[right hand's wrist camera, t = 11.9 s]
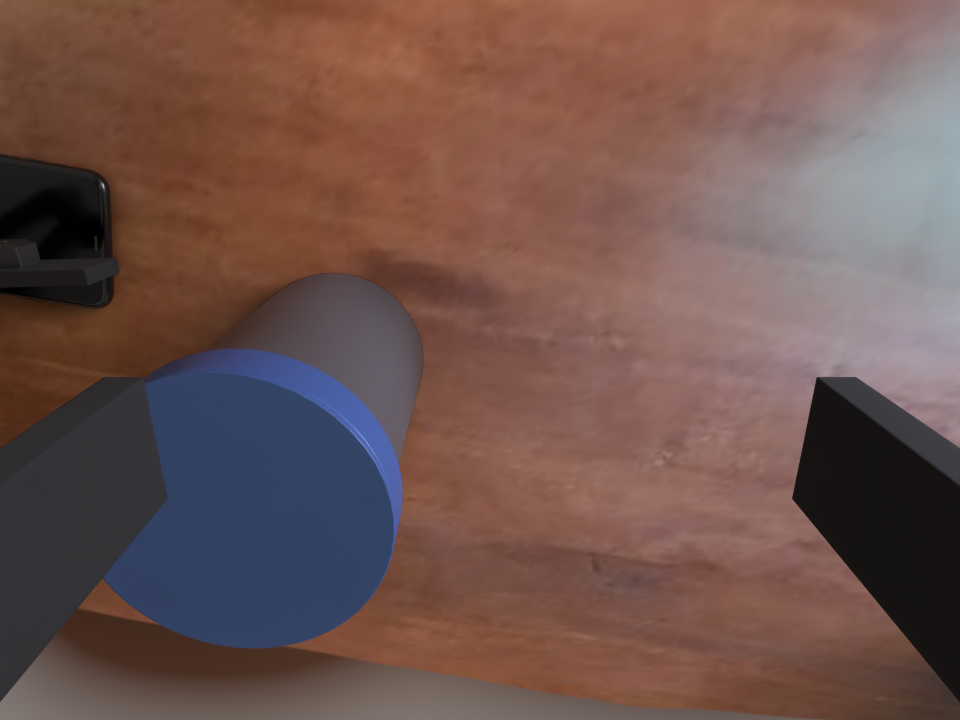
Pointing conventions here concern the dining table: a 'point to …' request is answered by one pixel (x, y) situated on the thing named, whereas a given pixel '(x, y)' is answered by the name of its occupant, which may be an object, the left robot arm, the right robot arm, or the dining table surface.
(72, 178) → the smartphone
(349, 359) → the jar
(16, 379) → the dining table surface
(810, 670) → the dining table surface
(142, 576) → the lid
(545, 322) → the dining table surface
